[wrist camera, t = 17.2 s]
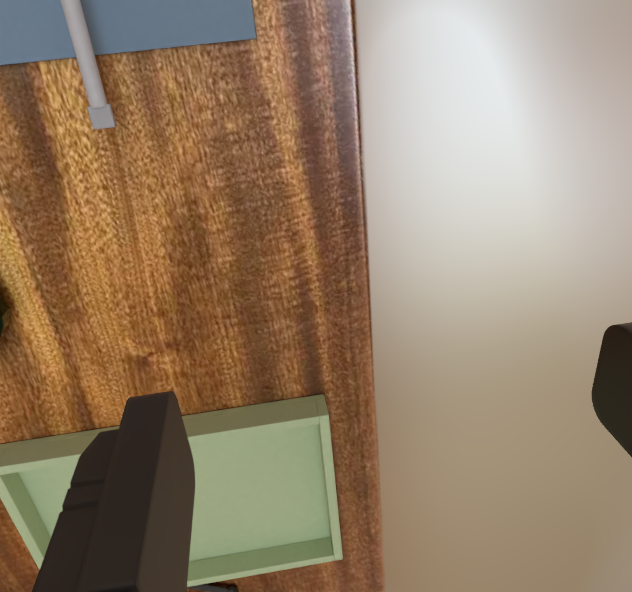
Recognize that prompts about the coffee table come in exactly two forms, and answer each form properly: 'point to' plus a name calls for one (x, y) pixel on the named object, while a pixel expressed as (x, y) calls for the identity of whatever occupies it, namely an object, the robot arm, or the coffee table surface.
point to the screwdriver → (88, 65)
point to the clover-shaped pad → (3, 318)
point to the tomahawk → (213, 588)
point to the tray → (212, 488)
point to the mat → (119, 26)
